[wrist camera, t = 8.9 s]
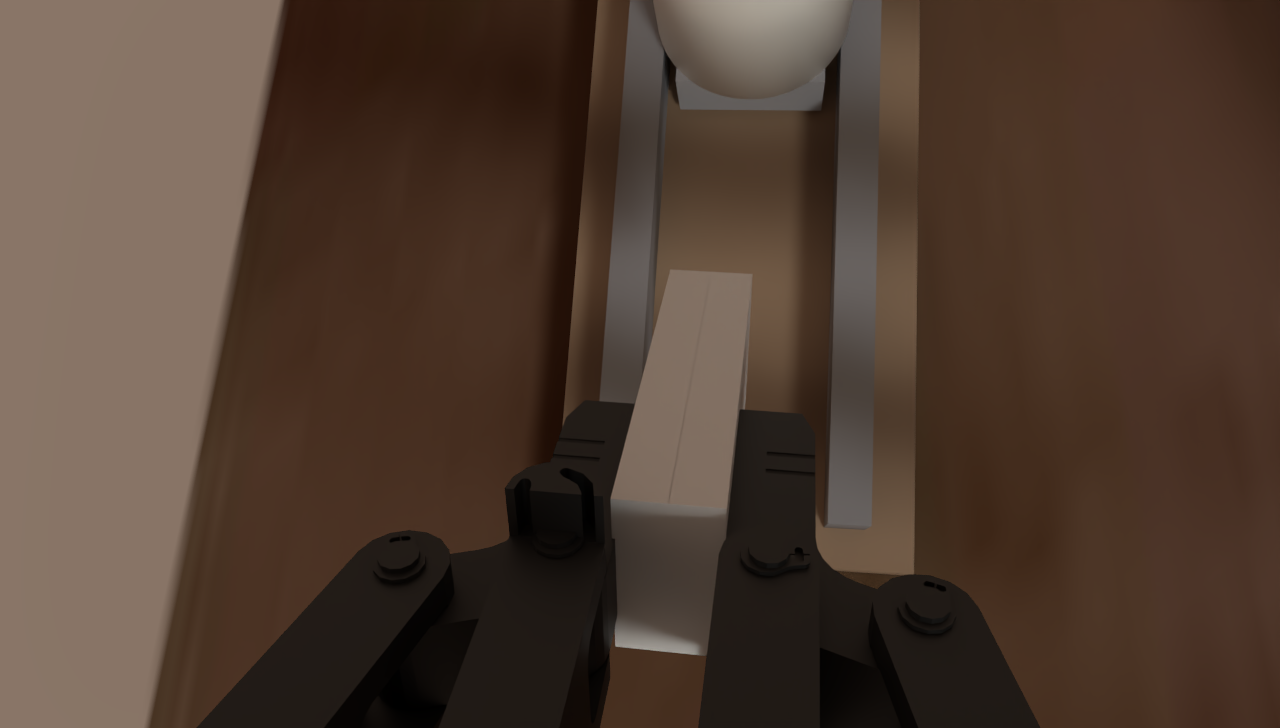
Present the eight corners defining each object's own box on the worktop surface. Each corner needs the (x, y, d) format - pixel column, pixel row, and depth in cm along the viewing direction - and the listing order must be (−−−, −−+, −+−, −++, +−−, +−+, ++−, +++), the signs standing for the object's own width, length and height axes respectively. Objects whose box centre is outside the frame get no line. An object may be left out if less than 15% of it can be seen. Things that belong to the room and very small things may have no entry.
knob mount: (902, 575, 27) (937, 572, 21) (566, 553, 28) (521, 545, 22) (911, -96, 31) (942, -237, 25) (618, -91, 32) (590, -225, 27)
